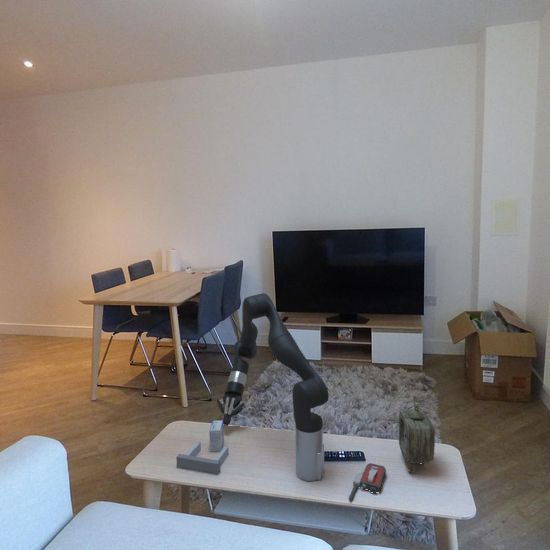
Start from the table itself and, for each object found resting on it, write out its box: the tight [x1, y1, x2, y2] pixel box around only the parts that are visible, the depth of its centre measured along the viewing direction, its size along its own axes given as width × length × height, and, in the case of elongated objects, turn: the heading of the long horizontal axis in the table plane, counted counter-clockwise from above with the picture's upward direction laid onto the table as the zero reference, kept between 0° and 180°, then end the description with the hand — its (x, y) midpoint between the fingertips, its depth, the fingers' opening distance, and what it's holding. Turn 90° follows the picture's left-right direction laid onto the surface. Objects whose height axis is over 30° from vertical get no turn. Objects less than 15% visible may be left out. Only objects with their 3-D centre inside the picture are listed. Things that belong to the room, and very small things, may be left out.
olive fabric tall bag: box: [398, 395, 436, 474], centre depth 144 cm, size 14×9×25 cm, turn 175°
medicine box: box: [208, 420, 225, 452], centre depth 159 cm, size 8×4×9 cm, turn 0°
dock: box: [176, 441, 230, 476], centre depth 149 cm, size 16×12×4 cm
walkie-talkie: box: [348, 462, 387, 501], centre depth 134 cm, size 9×4×20 cm
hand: (225, 424), depth 167 cm, fingers closed
